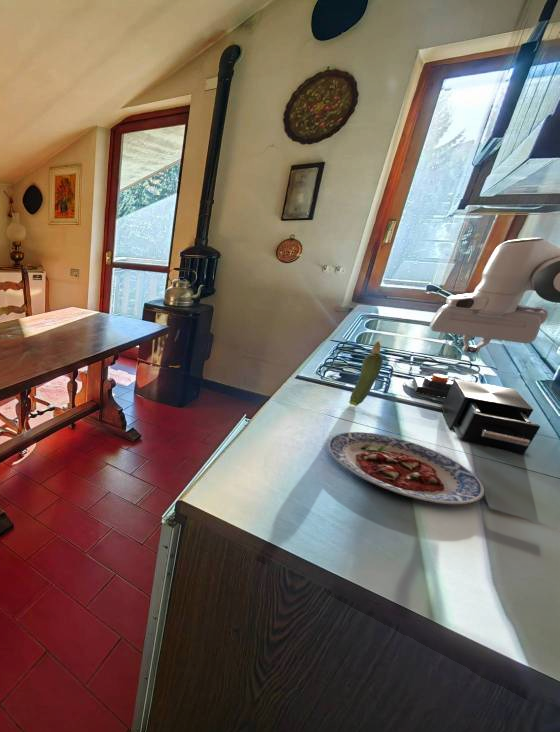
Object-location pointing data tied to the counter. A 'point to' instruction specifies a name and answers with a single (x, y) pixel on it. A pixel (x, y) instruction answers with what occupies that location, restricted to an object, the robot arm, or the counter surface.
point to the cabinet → (479, 399)
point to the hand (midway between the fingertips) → (469, 352)
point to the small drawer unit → (496, 427)
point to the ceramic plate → (406, 468)
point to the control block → (431, 386)
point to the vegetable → (367, 375)
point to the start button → (440, 378)
